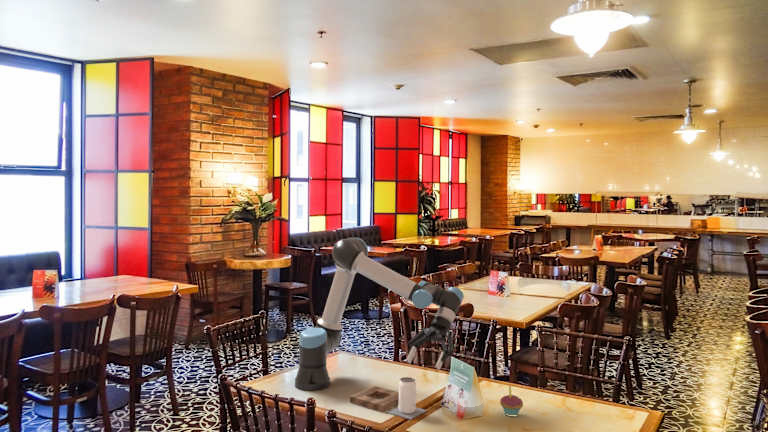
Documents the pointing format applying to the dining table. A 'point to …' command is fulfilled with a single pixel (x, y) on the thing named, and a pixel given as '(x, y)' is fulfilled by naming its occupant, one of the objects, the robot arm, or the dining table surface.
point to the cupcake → (511, 403)
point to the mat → (408, 416)
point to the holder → (369, 401)
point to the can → (407, 395)
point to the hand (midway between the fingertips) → (422, 365)
